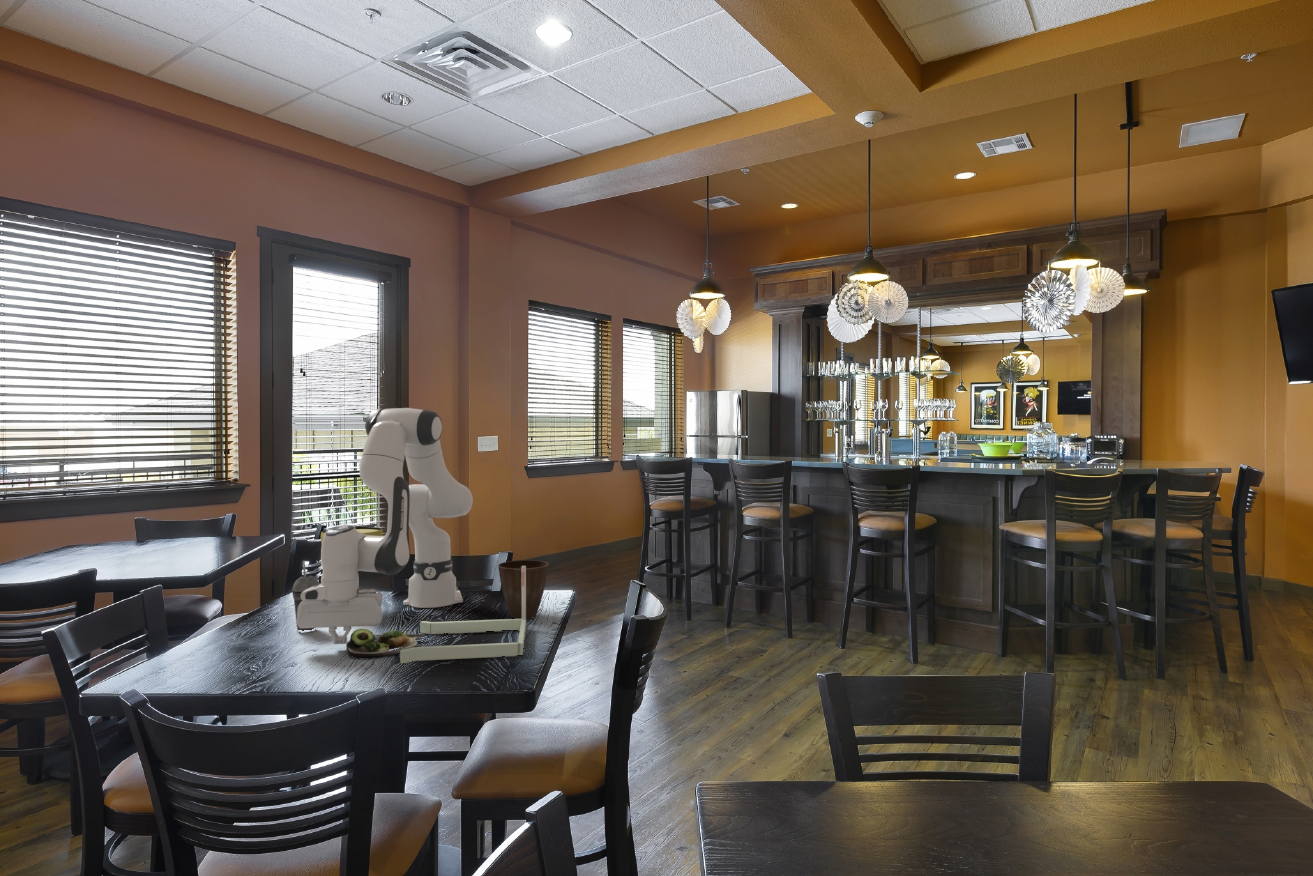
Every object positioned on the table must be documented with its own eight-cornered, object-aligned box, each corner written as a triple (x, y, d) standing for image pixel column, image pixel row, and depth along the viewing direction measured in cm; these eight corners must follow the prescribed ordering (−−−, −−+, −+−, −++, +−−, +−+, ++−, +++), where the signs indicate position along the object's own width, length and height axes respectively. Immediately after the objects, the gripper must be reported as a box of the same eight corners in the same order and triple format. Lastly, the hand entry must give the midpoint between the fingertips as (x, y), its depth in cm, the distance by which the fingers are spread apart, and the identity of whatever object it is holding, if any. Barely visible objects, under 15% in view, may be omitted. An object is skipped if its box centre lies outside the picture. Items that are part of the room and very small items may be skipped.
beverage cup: (326, 627, 202) (325, 557, 202) (311, 634, 195) (310, 562, 195) (302, 627, 203) (301, 557, 203) (286, 634, 195) (285, 562, 195)
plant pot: (509, 609, 222) (509, 559, 222) (555, 611, 220) (554, 560, 220) (490, 622, 207) (490, 568, 207) (538, 624, 205) (538, 569, 205)
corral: (420, 631, 198) (420, 567, 198) (526, 627, 202) (526, 564, 202) (399, 664, 170) (399, 589, 170) (522, 658, 174) (522, 585, 174)
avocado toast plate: (419, 634, 196) (419, 617, 196) (432, 651, 180) (432, 633, 180) (343, 643, 187) (343, 626, 187) (350, 663, 171) (349, 644, 171)
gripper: (385, 586, 186) (385, 638, 186) (303, 588, 183) (303, 641, 183) (379, 591, 179) (379, 645, 180) (293, 593, 177) (294, 649, 177)
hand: (340, 643), depth 181 cm, fingers closed
